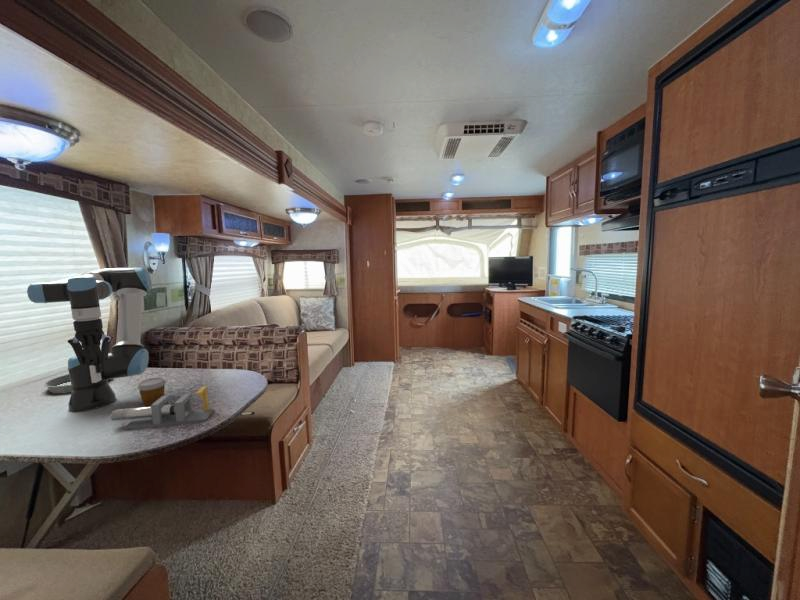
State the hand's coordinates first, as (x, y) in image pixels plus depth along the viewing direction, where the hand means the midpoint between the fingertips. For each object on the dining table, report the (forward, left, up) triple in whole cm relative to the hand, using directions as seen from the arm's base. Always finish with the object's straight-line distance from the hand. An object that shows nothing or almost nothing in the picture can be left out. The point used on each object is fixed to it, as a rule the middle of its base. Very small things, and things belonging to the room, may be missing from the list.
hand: (96, 381), depth 121 cm
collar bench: (+23, 0, -18) cm, 29 cm away
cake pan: (-42, +53, -19) cm, 70 cm away
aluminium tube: (+15, 0, -16) cm, 22 cm away
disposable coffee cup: (+11, +13, -19) cm, 25 cm away
